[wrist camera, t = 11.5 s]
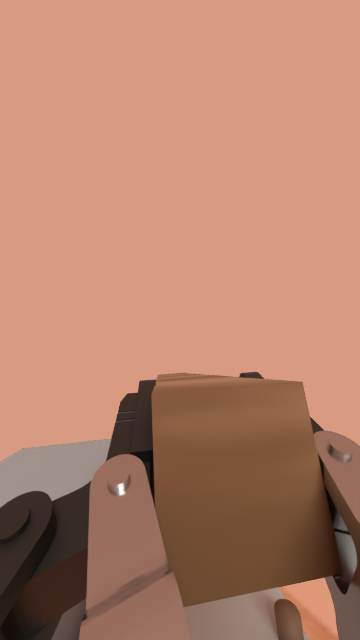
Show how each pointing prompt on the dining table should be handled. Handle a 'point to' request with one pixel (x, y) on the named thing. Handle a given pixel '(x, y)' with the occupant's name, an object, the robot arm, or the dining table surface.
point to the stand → (203, 619)
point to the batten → (238, 486)
